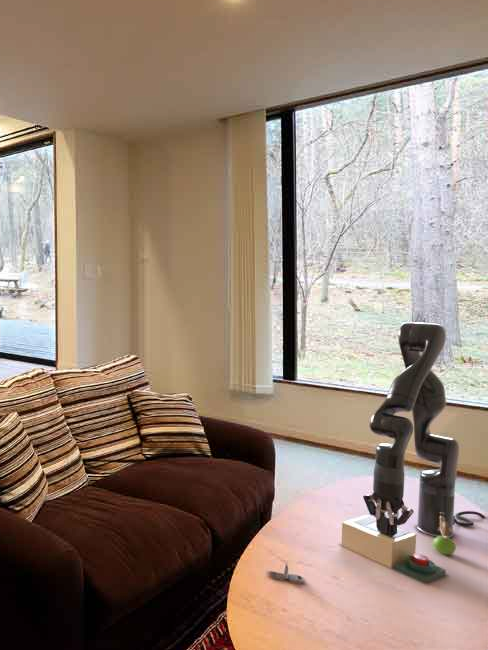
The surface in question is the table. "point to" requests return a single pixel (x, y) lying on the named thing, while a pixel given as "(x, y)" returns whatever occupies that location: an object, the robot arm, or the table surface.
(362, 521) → the long cream box
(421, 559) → the button
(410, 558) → the control block
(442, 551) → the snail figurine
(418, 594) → the table surface
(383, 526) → the slider
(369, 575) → the table surface
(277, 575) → the grey elongated piece
